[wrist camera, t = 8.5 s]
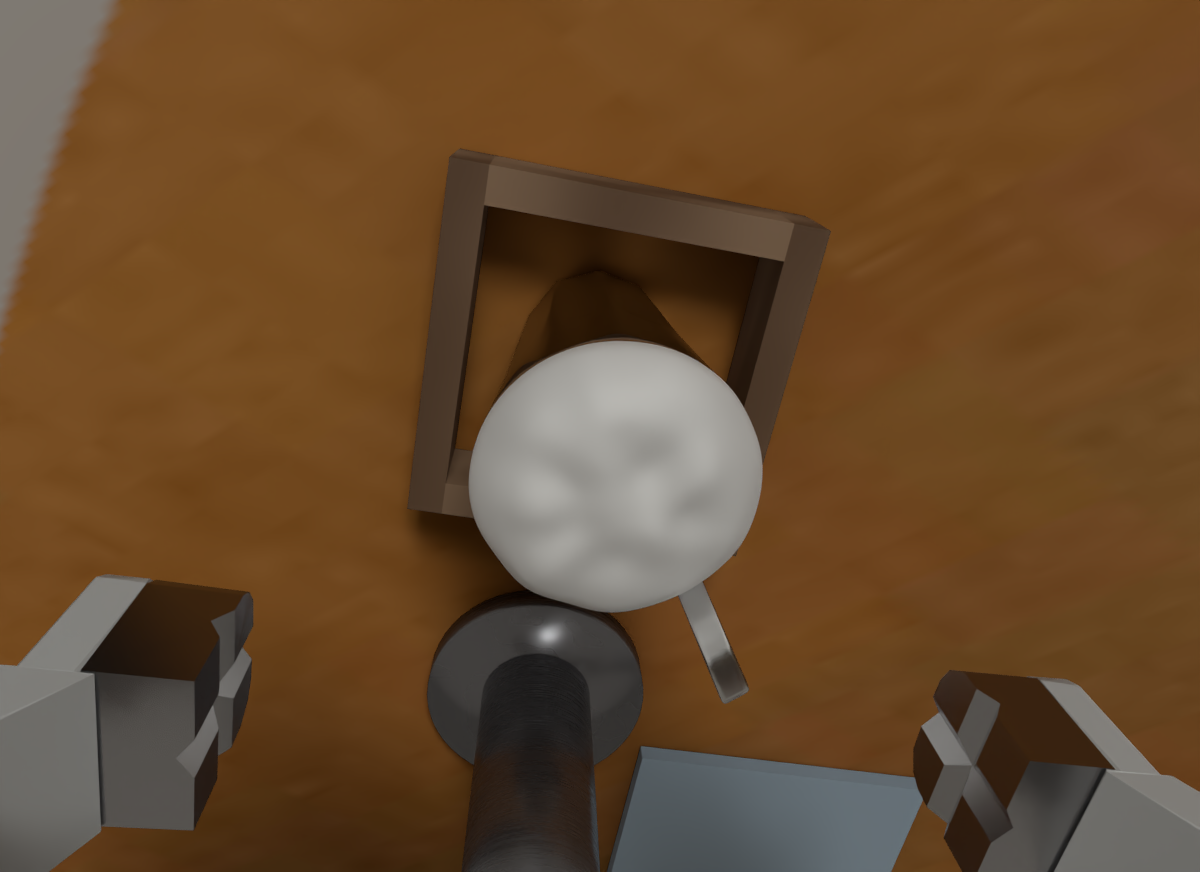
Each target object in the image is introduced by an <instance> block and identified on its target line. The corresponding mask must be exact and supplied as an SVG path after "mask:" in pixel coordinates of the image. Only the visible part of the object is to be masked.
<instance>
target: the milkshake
mask: <svg viewBox="0 0 1200 872" xmlns="http://www.w3.org/2000/svg"><path fill="white" fill-rule="evenodd" d="M761 485H762V456H761V450H760V446H759V442H758V439H757V436H756V433H755V430H754V428H753V425H752V423H751V421H750V419H749V416H748V414H747V412H746V411H745V409H744V407H743V405H742V404H741V402H740V400H739V399H738V397H737V396H736V394H735V393H734V392H733V391H732V389H731V388H730V387H729V386H728V385H727V384H726V383H725V382H724V381H723V380H722V379H721V378H720V377H719V376H718V375H717V374H716V373H715V372H714V371H713V370H712V369H711V368H710V367H709V366H708V365H707V364H706V363H705V362H704V361H703V360H702V359H701V358H700V357H699V356H698V355H697V354H696V353H695V352H694V351H693V349H692V348H691V347H690V346H689V345H688V344H687V343H686V342H685V341H684V340H683V339H682V338H681V337H680V336H679V334H678V333H677V332H676V331H675V330H674V328H673V327H672V326H671V325H670V323H669V322H668V321H667V320H666V318H665V317H664V316H663V315H662V313H661V312H660V311H659V310H658V308H657V307H656V306H655V305H654V303H653V302H652V301H651V300H650V298H649V297H648V296H647V295H646V293H645V292H644V291H643V290H642V288H641V287H640V286H639V285H636V284H633V283H631V282H628V281H626V280H623V279H620V278H618V277H615V276H613V275H610V274H608V273H605V272H603V271H600V270H597V271H593V272H589V273H585V274H582V275H578V276H574V277H570V278H566V279H562V280H558V281H556V282H555V284H554V285H553V286H552V287H551V289H550V290H549V291H548V292H547V294H546V295H545V296H544V297H543V298H542V300H541V301H540V302H539V303H538V305H537V306H536V307H535V308H534V309H533V311H532V312H531V313H530V314H529V317H528V319H527V322H526V324H525V327H524V329H523V332H522V335H521V337H520V340H519V342H518V345H517V348H516V350H515V353H514V355H513V358H512V361H511V363H510V366H509V369H508V372H507V375H506V377H505V379H504V381H503V384H502V386H501V388H500V390H499V392H498V394H497V396H496V398H495V400H494V402H493V404H492V406H491V408H490V410H489V412H488V414H487V416H486V419H485V421H484V423H483V425H482V427H481V429H480V432H479V434H478V437H477V440H476V443H475V446H474V449H473V453H472V458H471V463H470V470H469V497H470V504H471V508H472V512H473V516H474V519H475V522H476V524H477V526H478V528H479V530H480V532H481V534H482V536H483V538H484V539H485V541H486V542H487V544H488V545H489V547H490V548H491V550H492V551H493V552H494V554H495V555H496V556H497V558H498V559H499V560H500V562H501V563H502V564H503V566H504V567H505V568H506V570H507V571H508V572H509V573H510V574H511V575H512V576H513V577H514V578H515V579H516V580H517V581H518V582H519V583H520V584H521V585H523V586H524V587H525V588H527V589H528V590H530V591H532V592H534V593H536V594H538V595H541V596H544V597H547V598H550V599H554V600H558V601H561V602H565V603H568V604H572V605H575V606H578V607H582V608H585V609H589V610H594V611H600V612H625V611H631V610H636V609H640V608H644V607H648V606H651V605H654V604H657V603H660V602H663V601H666V600H668V599H671V598H673V597H676V596H678V597H679V599H680V602H681V604H682V607H683V609H684V612H685V614H686V616H687V619H688V621H689V624H690V626H691V629H692V631H693V634H694V636H695V638H696V641H697V643H698V646H699V648H700V651H701V653H702V656H703V658H704V660H705V663H706V665H707V668H708V670H709V673H710V675H711V678H712V680H713V682H714V685H715V687H716V690H717V692H718V694H719V697H720V699H721V701H722V702H723V703H728V702H730V701H732V700H734V699H736V698H738V697H740V696H742V695H744V694H745V693H747V692H748V691H749V687H748V684H747V682H746V679H745V677H744V674H743V672H742V670H741V668H740V665H739V663H738V661H737V658H736V656H735V654H734V652H733V649H732V647H731V645H730V642H729V640H728V638H727V636H726V633H725V631H724V629H723V627H722V624H721V622H720V620H719V617H718V615H717V613H716V611H715V608H714V606H713V604H712V601H711V599H710V597H709V595H708V592H707V590H706V588H705V586H704V583H703V581H704V580H705V579H707V578H708V577H709V576H710V575H712V574H713V573H714V572H715V571H717V570H718V569H719V568H720V567H721V566H722V565H723V564H724V563H726V562H727V561H728V560H729V559H730V557H731V556H732V555H733V554H734V553H735V552H736V551H737V549H738V548H739V547H740V545H741V544H742V542H743V540H744V539H745V537H746V535H747V533H748V531H749V529H750V527H751V524H752V522H753V519H754V516H755V513H756V509H757V506H758V502H759V497H760V492H761Z"/></svg>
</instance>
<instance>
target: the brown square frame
mask: <svg viewBox="0 0 1200 872" xmlns="http://www.w3.org/2000/svg"><path fill="white" fill-rule="evenodd" d="M489 206H492V207H498V208H503V209H508V210H514V211H519V212H524V213H529V214H535V215H540V216H545V217H551V218H556V219H561V220H567V221H572V222H577V223H583V224H588V225H593V226H599V227H604V228H609V229H614V230H620V231H625V232H630V233H636V234H641V235H646V236H652V237H657V238H662V239H668V240H673V241H678V242H683V243H689V244H694V245H699V246H705V247H710V248H715V249H721V250H726V251H731V252H737V253H742V254H747V255H752V256H758V257H760V258H759V261H758V265H757V269H756V273H755V277H754V280H753V284H752V288H751V292H750V296H749V299H748V303H747V307H746V311H745V315H744V318H743V322H742V326H741V330H740V333H739V337H738V341H737V345H736V349H735V352H734V356H733V360H732V364H731V368H730V371H729V375H728V379H727V383H726V384H727V385H728V386H729V387H730V388H731V389H732V391H733V392H734V393H735V394H736V396H737V397H738V399H739V400H740V402H741V404H742V405H743V407H744V409H745V411H746V412H747V414H748V416H749V419H750V421H751V423H752V425H753V428H754V430H755V433H756V436H757V439H758V442H759V446H760V450H761V456H762V465H763V462H764V458H765V455H766V451H767V448H768V445H769V441H770V438H771V434H772V431H773V427H774V424H775V421H776V417H777V414H778V410H779V407H780V403H781V400H782V397H783V393H784V390H785V386H786V383H787V379H788V376H789V373H790V369H791V366H792V362H793V359H794V355H795V352H796V349H797V345H798V342H799V338H800V335H801V332H802V328H803V325H804V321H805V318H806V314H807V311H808V308H809V304H810V301H811V297H812V294H813V290H814V287H815V284H816V280H817V277H818V273H819V270H820V266H821V263H822V260H823V256H824V253H825V249H826V246H827V242H828V239H829V236H830V232H831V231H830V230H828V229H827V228H825V227H823V226H822V225H820V224H818V223H816V222H815V221H813V220H811V219H809V218H808V217H806V216H802V215H797V214H792V213H787V212H781V211H776V210H771V209H766V208H761V207H756V206H751V205H746V204H741V203H735V202H730V201H725V200H720V199H715V198H710V197H705V196H700V195H695V194H689V193H684V192H679V191H674V190H669V189H664V188H659V187H654V186H649V185H643V184H638V183H633V182H628V181H623V180H618V179H613V178H608V177H603V176H597V175H592V174H587V173H582V172H577V171H572V170H567V169H562V168H557V167H551V166H546V165H541V164H536V163H531V162H526V161H521V160H516V159H510V158H505V157H500V156H495V155H490V154H485V153H480V152H475V151H470V150H464V149H459V150H457V151H456V152H455V153H454V154H452V155H451V156H450V157H449V166H448V174H447V182H446V191H445V199H444V207H443V216H442V224H441V232H440V241H439V249H438V257H437V266H436V274H435V282H434V291H433V299H432V307H431V316H430V324H429V332H428V341H427V349H426V357H425V366H424V374H423V382H422V391H421V399H420V408H419V416H418V424H417V433H416V441H415V449H414V458H413V466H412V474H411V483H410V491H409V499H408V508H407V509H413V510H420V511H427V512H434V513H441V514H448V515H455V516H462V517H468V518H474V516H473V512H472V508H471V504H470V497H469V470H470V463H471V458H472V453H473V451H468V450H461V449H455V445H456V437H457V430H458V423H459V416H460V409H461V402H462V394H463V387H464V380H465V373H466V366H467V359H468V351H469V344H470V337H471V330H472V323H473V316H474V308H475V301H476V294H477V287H478V280H479V273H480V265H481V258H482V251H483V244H484V237H485V230H486V222H487V215H488V208H489ZM737 551H738V549H737ZM737 551H736V552H735V553H734V554H733V555H732V556H736V554H737Z"/></svg>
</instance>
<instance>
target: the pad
mask: <svg viewBox="0 0 1200 872" xmlns="http://www.w3.org/2000/svg"><path fill="white" fill-rule="evenodd" d="M922 800H923V798H922V796H921V795H920V793H919V791H918V788H917V784H916V780H915V778H913V777H904V776H895V775H887V774H878V773H869V772H861V771H852V770H843V769H835V768H826V767H817V766H809V765H800V764H791V763H783V762H774V761H765V760H757V759H748V758H739V757H731V756H722V755H713V754H705V753H696V752H687V751H679V750H670V749H661V748H653V747H644V746H641V747H640V751H639V755H638V758H637V762H636V766H635V770H634V773H633V777H632V781H631V784H630V788H629V792H628V796H627V799H626V803H625V807H624V810H623V814H622V818H621V822H620V825H619V829H618V833H617V836H616V840H615V844H614V848H613V851H612V855H611V859H610V862H609V866H608V870H607V872H891V870H892V868H893V866H894V864H895V861H896V859H897V857H898V855H899V852H900V850H901V848H902V846H903V843H904V841H905V839H906V837H907V834H908V832H909V830H910V827H911V825H912V823H913V821H914V818H915V816H916V814H917V812H918V809H919V807H920V805H921V803H922Z"/></svg>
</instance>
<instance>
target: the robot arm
mask: <svg viewBox="0 0 1200 872" xmlns="http://www.w3.org/2000/svg"><path fill="white" fill-rule="evenodd" d="M252 627H253V599H252V596H251V594H250V592H246V591H239V590H231V589H223V588H216V587H208V586H200V585H192V584H185V583H177V582H169V581H162V580H154V581H153V580H151V579H147V578H137V577H128V576H119V575H109V574H106V575H102V576H99V577H96V578H95V579H94V580H93V581H92V582H91V583H90V584H89V585H88V586H87V587H86V589H85V590H84V591H83V592H82V593H81V594H80V595H79V597H78V598H77V599H76V600H75V601H74V602H73V603H72V604H71V606H70V607H69V608H68V609H67V610H66V611H65V612H64V613H63V615H62V616H61V617H60V618H59V619H58V620H57V621H56V622H55V624H54V625H53V626H52V627H51V628H50V629H49V630H48V632H47V633H46V634H45V635H44V636H43V637H42V638H41V639H40V641H39V642H38V643H37V644H36V645H35V646H34V647H33V648H32V650H31V651H30V652H29V653H28V654H27V655H26V656H25V657H24V659H23V660H22V661H21V662H20V663H19V664H18V665H17V666H10V665H0V872H49V871H50V870H51V869H53V868H54V867H55V866H57V865H58V864H59V863H61V862H62V861H63V860H64V859H66V858H67V857H68V856H70V855H71V854H72V853H74V852H75V851H76V850H77V849H79V848H80V847H81V846H83V845H84V844H85V843H87V842H88V841H89V840H90V839H92V838H93V837H94V836H96V835H97V834H98V833H100V832H101V826H107V827H129V828H151V829H173V830H194V828H195V826H196V824H197V822H198V820H199V818H200V815H201V813H202V811H203V809H204V807H205V805H206V802H207V800H208V798H209V796H210V794H211V791H212V789H213V787H214V785H215V783H216V781H217V767H218V755H220V754H222V753H223V752H225V751H226V750H228V749H229V748H231V747H232V745H233V743H234V740H235V738H236V736H237V733H238V731H239V729H240V726H241V722H242V719H243V715H244V712H245V708H246V704H247V701H248V695H249V688H250V681H251V665H252V659H251V658H250V657H249V655H248V654H247V653H246V651H245V650H244V649H243V645H244V643H245V641H246V639H247V637H248V635H249V633H250V631H251V629H252ZM933 698H934V700H935V703H936V706H937V708H938V711H939V713H938V714H937V715H935V716H934V717H933V718H931V719H930V720H929V721H928V722H926V723H925V724H924V725H922V726H921V729H920V732H919V734H918V737H917V740H916V743H915V746H914V749H913V773H914V776H915V780H916V784H917V788H918V791H919V793H920V795H921V796H922V798H923V800H924V802H925V804H926V806H927V807H928V808H929V809H930V810H931V811H933V812H934V813H935V814H936V815H938V816H939V817H940V818H941V819H943V820H944V821H945V822H946V823H947V827H946V831H945V835H944V839H945V841H946V843H947V845H948V847H949V849H950V850H951V852H952V854H953V856H954V858H955V859H956V861H957V863H958V865H959V867H960V869H961V870H962V872H1200V792H1198V791H1197V790H1195V789H1193V788H1191V787H1190V786H1188V785H1186V784H1185V783H1183V782H1181V781H1180V780H1178V779H1176V778H1175V777H1173V776H1166V775H1160V774H1159V773H1158V772H1157V771H1156V770H1155V768H1154V767H1153V766H1152V765H1151V764H1150V763H1149V762H1148V761H1147V760H1146V759H1145V758H1144V756H1143V755H1142V754H1141V753H1140V752H1139V751H1138V750H1137V749H1136V748H1135V747H1134V745H1133V744H1132V743H1131V742H1130V741H1129V740H1128V739H1127V738H1126V737H1125V736H1124V734H1123V733H1122V732H1121V731H1120V730H1119V729H1118V728H1117V727H1116V726H1115V725H1114V723H1113V722H1112V721H1111V720H1110V719H1109V718H1108V717H1107V716H1106V715H1105V714H1104V712H1103V711H1102V710H1101V709H1100V708H1099V707H1098V706H1097V705H1096V704H1095V703H1094V701H1093V700H1092V699H1091V698H1090V697H1089V696H1088V695H1087V694H1086V693H1085V692H1084V690H1083V689H1082V688H1081V687H1080V686H1079V685H1077V684H1075V683H1073V682H1071V681H1069V680H1067V679H1057V678H1043V677H1030V676H1028V677H1020V676H1009V675H998V674H988V673H977V672H967V671H956V670H949V671H948V672H947V674H946V675H945V676H944V677H943V678H942V679H941V680H940V682H939V684H938V687H937V689H936V691H935V694H934V696H933Z"/></svg>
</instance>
